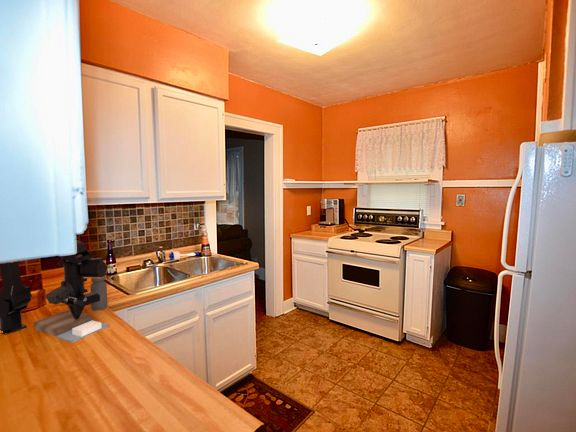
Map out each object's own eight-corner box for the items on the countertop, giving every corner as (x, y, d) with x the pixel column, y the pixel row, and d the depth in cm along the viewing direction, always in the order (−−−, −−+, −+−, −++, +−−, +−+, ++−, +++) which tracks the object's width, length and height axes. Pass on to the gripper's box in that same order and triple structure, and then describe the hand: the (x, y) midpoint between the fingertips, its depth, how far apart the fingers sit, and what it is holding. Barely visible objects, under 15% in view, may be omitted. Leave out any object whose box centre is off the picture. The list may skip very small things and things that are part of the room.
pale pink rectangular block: (81, 331, 100) (82, 336, 101) (101, 322, 107) (101, 328, 107) (72, 328, 102) (72, 334, 102) (92, 320, 109) (92, 325, 109)
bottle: (110, 305, 129) (109, 272, 128) (98, 311, 124) (97, 276, 122) (100, 304, 131) (98, 271, 130) (88, 309, 125) (86, 275, 124)
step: (34, 329, 107) (34, 321, 106) (69, 316, 118) (69, 309, 117) (58, 336, 102) (57, 328, 101) (92, 322, 113) (92, 315, 112)
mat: (56, 337, 101) (56, 335, 101) (94, 322, 113) (93, 320, 113) (72, 342, 98) (72, 340, 98) (109, 326, 110) (109, 324, 110)
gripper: (32, 280, 101) (35, 323, 103) (67, 286, 94) (69, 333, 96) (66, 271, 112) (68, 311, 113) (100, 277, 105) (102, 319, 106)
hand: (76, 318), depth 107 cm, fingers closed
